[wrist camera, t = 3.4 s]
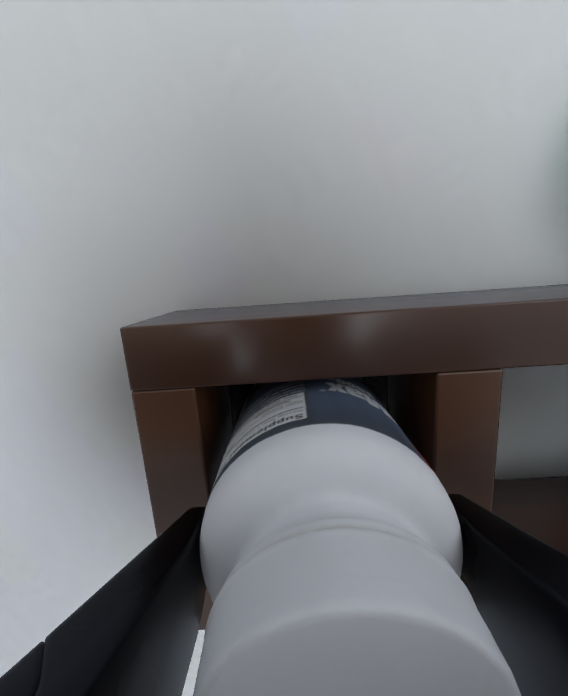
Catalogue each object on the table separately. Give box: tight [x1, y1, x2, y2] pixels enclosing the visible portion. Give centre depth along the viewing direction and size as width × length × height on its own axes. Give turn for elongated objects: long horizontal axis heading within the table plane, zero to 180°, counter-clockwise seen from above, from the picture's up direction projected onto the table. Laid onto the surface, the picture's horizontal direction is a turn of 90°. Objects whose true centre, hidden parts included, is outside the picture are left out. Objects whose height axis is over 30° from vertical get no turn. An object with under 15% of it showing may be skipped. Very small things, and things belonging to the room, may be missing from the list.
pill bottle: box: [193, 377, 521, 696], centre depth 8 cm, size 5×5×9 cm
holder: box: [120, 285, 568, 630], centre depth 10 cm, size 9×17×4 cm, turn 94°
